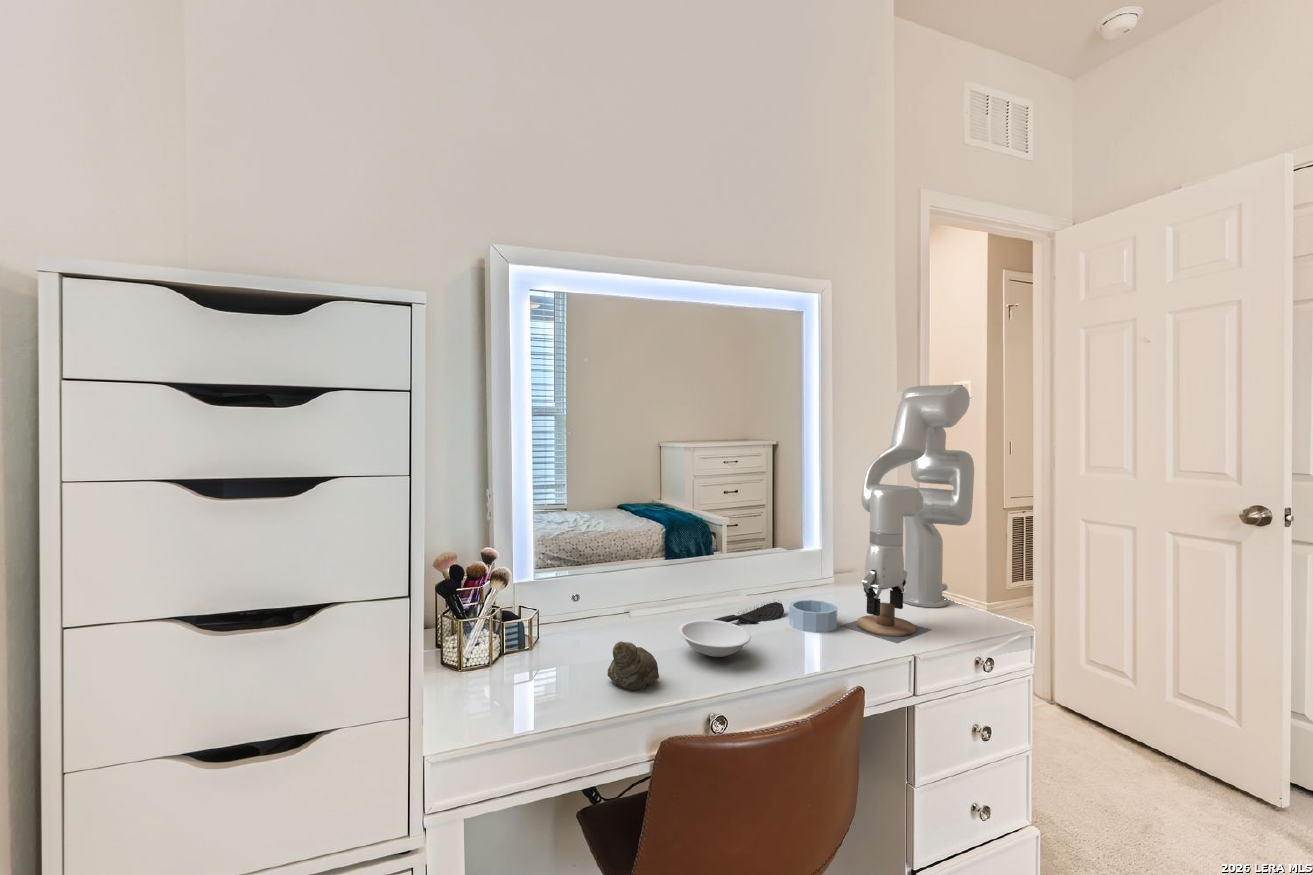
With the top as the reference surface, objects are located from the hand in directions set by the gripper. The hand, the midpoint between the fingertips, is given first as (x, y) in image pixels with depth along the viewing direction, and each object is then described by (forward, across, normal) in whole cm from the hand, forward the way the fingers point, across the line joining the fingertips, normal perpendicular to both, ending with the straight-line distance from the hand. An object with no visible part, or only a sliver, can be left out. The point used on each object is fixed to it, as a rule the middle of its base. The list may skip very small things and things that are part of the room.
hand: (884, 611), depth 149 cm
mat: (+5, -1, 0) cm, 5 cm away
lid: (+4, -1, 0) cm, 4 cm away
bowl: (+5, +11, -12) cm, 17 cm away
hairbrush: (+6, +22, -25) cm, 34 cm away
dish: (+6, +43, -13) cm, 46 cm away
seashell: (+6, +63, -12) cm, 65 cm away
